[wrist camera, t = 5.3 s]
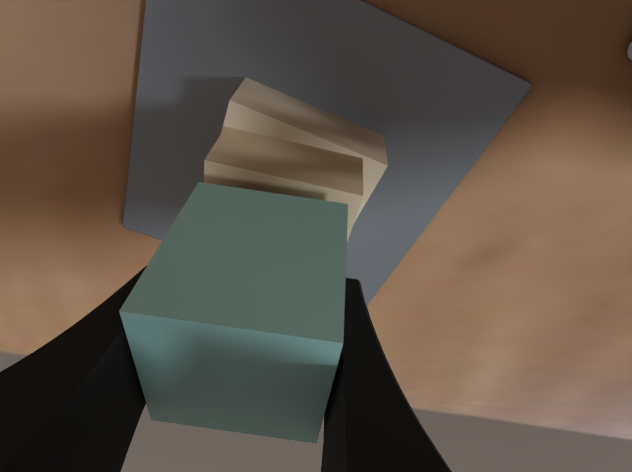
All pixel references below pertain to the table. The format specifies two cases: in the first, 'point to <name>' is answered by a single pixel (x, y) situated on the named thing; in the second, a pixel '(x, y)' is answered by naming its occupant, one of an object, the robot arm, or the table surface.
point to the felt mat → (320, 91)
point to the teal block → (242, 313)
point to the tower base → (306, 128)
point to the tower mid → (285, 169)
